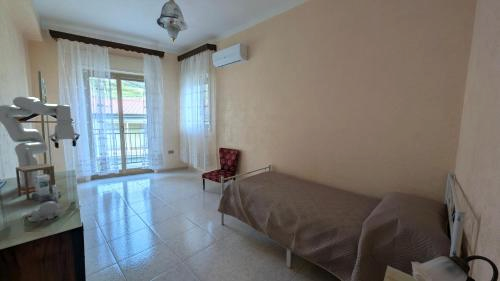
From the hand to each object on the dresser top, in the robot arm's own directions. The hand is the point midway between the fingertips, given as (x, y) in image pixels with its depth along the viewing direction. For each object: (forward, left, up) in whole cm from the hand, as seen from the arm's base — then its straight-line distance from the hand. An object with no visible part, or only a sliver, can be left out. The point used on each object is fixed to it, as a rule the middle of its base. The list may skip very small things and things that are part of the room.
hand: (65, 147), depth 151 cm
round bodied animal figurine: (+45, -28, -30) cm, 61 cm away
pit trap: (-16, -16, -30) cm, 37 cm away
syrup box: (+8, -17, -30) cm, 35 cm away
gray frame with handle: (+14, -16, -29) cm, 36 cm away
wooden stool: (-3, -16, -30) cm, 34 cm away
